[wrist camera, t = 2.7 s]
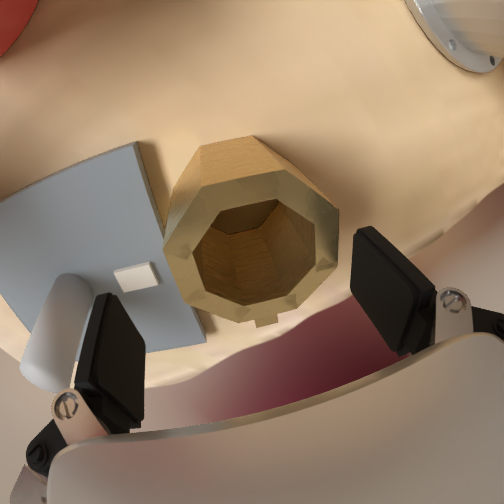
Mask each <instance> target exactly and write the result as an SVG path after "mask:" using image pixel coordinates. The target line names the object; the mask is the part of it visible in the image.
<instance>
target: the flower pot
mask: <svg viewBox="0 0 504 504" xmlns="http://www.w3.org/2000/svg"><path fill="white" fill-rule="evenodd" d="M37 3H38V0H0V57H1V56H2V55H3V54H4V53H5V52H6V51H7V50H8V49H9V48H10V46H11V45H12V44H13V43H14V42H15V40H16V39H17V38H18V37H19V35H20V34H21V32H22V31H23V29H24V28H25V26H26V25H27V23H28V21H29V20H30V18H31V16H32V14H33V12H34V10H35V7H36V5H37Z"/></svg>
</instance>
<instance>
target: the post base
mask: <svg viewBox="0 0 504 504" xmlns="http://www.w3.org/2000/svg"><path fill="white" fill-rule="evenodd" d="M164 236H165V229H164V227H163V224H162V221H161V218H160V215H159V212H158V209H157V206H156V203H155V200H154V197H153V194H152V191H151V188H150V185H149V182H148V178H147V175H146V172H145V169H144V165H143V162H142V159H141V155H140V152H139V148H138V145H137V141H136V142H132V143H129V144H126V145H124V146H121V147H118V148H115V149H112V150H109V151H107V152H104V153H101V154H99V155H96V156H93V157H91V158H88V159H86V160H83V161H81V162H78V163H76V164H74V165H71V166H69V167H67V168H64V169H62V170H60V171H58V172H56V173H53V174H51V175H49V176H47V177H45V178H43V179H41V180H39V181H37V182H35V183H33V184H31V185H29V186H27V187H25V188H23V189H21V190H19V191H17V192H16V193H14V194H12V195H10V196H8V197H7V198H5V199H3V200H1V201H0V294H1V295H2V297H3V298H4V299H5V301H6V302H7V304H8V305H9V306H10V308H11V309H12V310H13V312H14V313H15V314H16V316H17V317H18V318H19V320H20V321H21V322H22V323H23V325H24V326H25V327H26V328H27V329H28V331H29V332H30V333H31V335H30V338H29V341H28V343H27V346H26V349H25V352H24V354H23V357H22V360H21V363H20V371H21V373H22V374H23V375H24V376H25V378H27V379H28V380H29V381H30V382H31V383H33V384H34V385H36V386H38V387H39V388H41V389H44V390H46V391H49V392H52V393H59V392H61V391H62V390H64V389H67V388H69V387H70V382H71V377H72V373H73V368H74V364H75V361H79V357H80V353H81V348H82V344H83V340H84V336H85V333H86V329H87V325H88V322H89V318H90V315H91V311H92V308H93V304H94V301H95V298H96V296H97V295H99V294H104V293H108V292H111V293H112V294H113V295H117V297H118V298H119V300H120V302H121V303H122V305H123V307H124V308H125V310H126V312H127V313H128V315H129V317H130V318H131V320H132V322H133V323H134V325H135V327H136V328H137V330H138V331H139V333H140V334H141V336H142V337H143V339H144V341H145V345H146V353H150V352H156V351H162V350H168V349H174V348H180V347H185V346H191V345H196V344H201V343H206V332H205V330H204V328H203V325H202V323H201V321H200V319H199V316H198V314H197V312H196V309H195V307H193V306H191V305H188V304H186V303H184V301H183V298H182V296H181V294H180V291H179V289H178V287H177V284H176V282H175V280H174V277H173V275H172V272H171V270H170V267H169V265H168V263H167V260H166V258H165V255H164V252H163V250H162V249H163V242H164Z"/></svg>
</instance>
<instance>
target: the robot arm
mask: <svg viewBox="0 0 504 504" xmlns="http://www.w3.org/2000/svg"><path fill="white" fill-rule="evenodd" d="M405 1H406V3H407V5H408V7H409V9H410V11H411V12H412V14H413V16H414V17H415V19H416V21H417V23H418V24H419V26H420V27H421V28H422V30H423V31H424V33H425V34H426V36H427V37H428V38H429V39H430V41H431V42H432V43H433V44H434V45H435V47H436V48H437V49H438V50H439V51H440V52H441V53H442V54H443V55H444V56H445V57H446V58H447V59H448V60H450V61H451V62H453V63H454V64H455V65H457V66H458V67H461V68H463V69H465V70H467V71H473V72H477V73H488V72H490V71H492V70H494V69H495V68H496V67H497V66H498V65H499V63H500V61H501V59H502V58H504V0H405ZM350 289H351V292H352V294H353V295H354V297H355V298H356V300H357V301H358V302H359V304H360V305H361V307H362V308H363V310H364V311H365V312H366V314H367V315H368V317H369V318H370V320H371V321H372V323H373V324H374V325H375V327H376V328H377V330H378V331H379V333H380V334H381V335H382V337H383V339H384V340H385V342H386V343H387V345H388V346H389V348H390V349H391V351H393V352H395V351H396V353H397V354H398V356H399V357H401V356H403V355H405V354H407V353H409V352H411V354H412V356H410V357H408V358H406V359H404V360H402V361H400V362H397V363H395V364H393V365H391V366H389V367H386V368H384V369H382V370H380V371H378V372H375V373H373V374H371V375H369V376H366V377H364V378H361V379H359V380H357V381H354V382H352V383H349V384H346V385H344V386H341V387H339V388H336V389H333V390H330V391H328V392H325V393H322V394H320V395H317V396H313V397H310V398H307V399H305V400H301V401H298V402H295V403H291V404H288V405H285V406H281V407H278V408H274V409H270V410H267V411H263V412H259V413H255V414H251V415H246V416H242V417H238V418H233V419H229V420H224V421H218V422H213V423H208V424H202V425H196V426H189V427H183V428H175V429H167V430H158V431H149V432H138V433H130V429H134V428H141V421H142V420H143V419H144V379H145V354H146V345H145V341H144V339H143V337H142V336H141V334H140V333H139V331H138V330H137V328H136V327H135V325H134V323H133V322H132V320H131V318H130V317H129V315H128V313H127V312H126V310H125V308H124V307H123V305H122V303H121V302H120V300H119V298H118V297H117V295H113V294H112V293H111V292H108V293H104V294H99V295H97V296H96V298H95V301H94V304H93V308H92V311H91V315H90V318H89V322H88V325H87V329H86V333H85V336H84V340H83V344H82V348H81V353H80V357H79V361H78V366H77V371H76V376H75V381H74V383H75V386H74V389H71V388H67V389H64V390H62V391H61V392H59V393H58V394H57V395H56V397H55V398H54V400H53V402H52V406H51V413H52V416H53V419H52V421H51V422H50V423H49V424H48V425H47V426H46V427H45V428H44V429H43V430H42V431H41V432H40V433H39V434H38V435H37V436H36V437H35V438H34V439H33V440H32V441H31V442H30V444H29V445H28V447H27V450H26V459H27V463H28V466H27V465H25V464H24V467H23V468H22V471H21V472H20V475H19V477H18V479H17V481H16V483H15V485H14V488H13V490H12V492H11V495H10V504H504V314H502V313H498V312H494V311H489V310H485V309H481V308H477V307H473V306H471V303H470V300H469V298H468V297H467V295H466V294H465V293H463V292H462V291H460V290H459V289H456V288H451V287H450V288H449V287H447V288H443V289H442V290H440V291H439V292H437V291H436V290H435V286H434V285H433V284H432V283H431V282H430V281H429V280H428V278H426V277H425V275H424V274H423V273H422V272H421V271H420V270H419V269H418V268H416V266H415V265H413V264H412V263H411V262H410V261H409V260H408V259H407V258H406V257H405V256H404V255H403V254H402V253H401V252H400V251H399V250H398V249H397V248H396V247H395V246H394V245H392V244H391V243H390V242H389V241H388V240H387V239H386V238H385V237H384V236H383V235H381V234H380V233H379V232H378V231H377V230H376V229H375V228H374V227H372V226H367V227H364V228H360V229H358V230H357V232H356V233H355V234H354V236H353V251H352V266H351V279H350Z"/></svg>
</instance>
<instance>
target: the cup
mask: <svg viewBox="0 0 504 504" xmlns="http://www.w3.org/2000/svg"><path fill="white" fill-rule="evenodd" d="M273 199H277V200H278V205H277V206H276V207H275V208H274V210H273V211H272V212H271V213H270V215H269V216H268V217H267V219H266V220H265V221H264V222H263V224H262V225H261V226H260V227H259V228H257V229H252V230H248V231H243V232H239V233H235V234H230V235H227V234H225V233H223V232H221V231H219V230H217V229H216V228H214V227H212V226H211V224H212V223H213V221H214V220H215V218H216V217H217V216H218V214H219V213H220V211H223V210H227V209H232V208H236V207H241V206H245V205H250V204H254V203H259V202H264V201H268V200H273ZM338 239H339V209H338V208H337V207H336V206H335V205H334V204H333V203H332V202H331V201H330V200H329V199H328V198H327V197H326V196H325V195H324V194H323V193H322V192H321V191H320V190H319V189H318V188H317V187H316V186H315V185H314V184H313V183H312V182H311V181H310V180H309V179H308V178H306V177H305V176H304V175H303V174H302V173H301V172H300V171H299V170H298V169H297V168H296V167H295V166H294V165H293V164H292V163H290V162H289V161H287V160H286V159H285V158H283V157H282V156H280V155H279V154H278V153H276V152H275V151H273V150H272V149H271V148H269V147H268V146H266V145H265V144H263V143H262V142H260V141H259V140H258V139H256V138H255V137H253V136H247V137H242V138H237V139H232V140H227V141H222V142H218V143H213V144H209V145H204V146H200V147H199V149H198V150H197V152H196V153H195V155H194V156H193V158H192V159H191V161H190V162H189V164H188V166H187V167H186V169H185V170H184V172H183V173H182V175H181V177H180V178H179V180H178V182H177V183H176V185H175V186H174V188H173V192H172V197H171V202H170V207H169V213H168V218H167V224H166V230H165V236H164V242H163V249H162V250H163V252H164V255H165V258H166V260H167V263H168V265H169V267H170V270H171V272H172V275H173V277H174V280H175V282H176V284H177V287H178V289H179V291H180V294H181V296H182V298H183V301H184V303H186V304H188V305H191V306H193V307H196V308H199V309H201V310H204V311H207V312H209V313H212V314H215V315H217V316H220V317H223V318H226V319H229V320H231V321H234V322H237V323H241V322H245V321H250V320H255V324H256V328H258V327H262V326H266V325H270V324H274V323H278V317H277V314H278V313H282V312H286V311H290V310H294V309H297V308H298V307H299V306H300V305H301V304H302V303H303V302H304V301H305V300H306V299H307V298H308V297H309V296H310V295H311V294H312V293H313V292H314V291H315V290H316V289H317V288H318V287H319V285H320V284H321V283H322V282H323V281H324V280H325V279H326V278H327V277H328V276H329V275H330V274H331V273H332V272H333V271H334V270H335V268H336V267H337V265H338Z"/></svg>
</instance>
